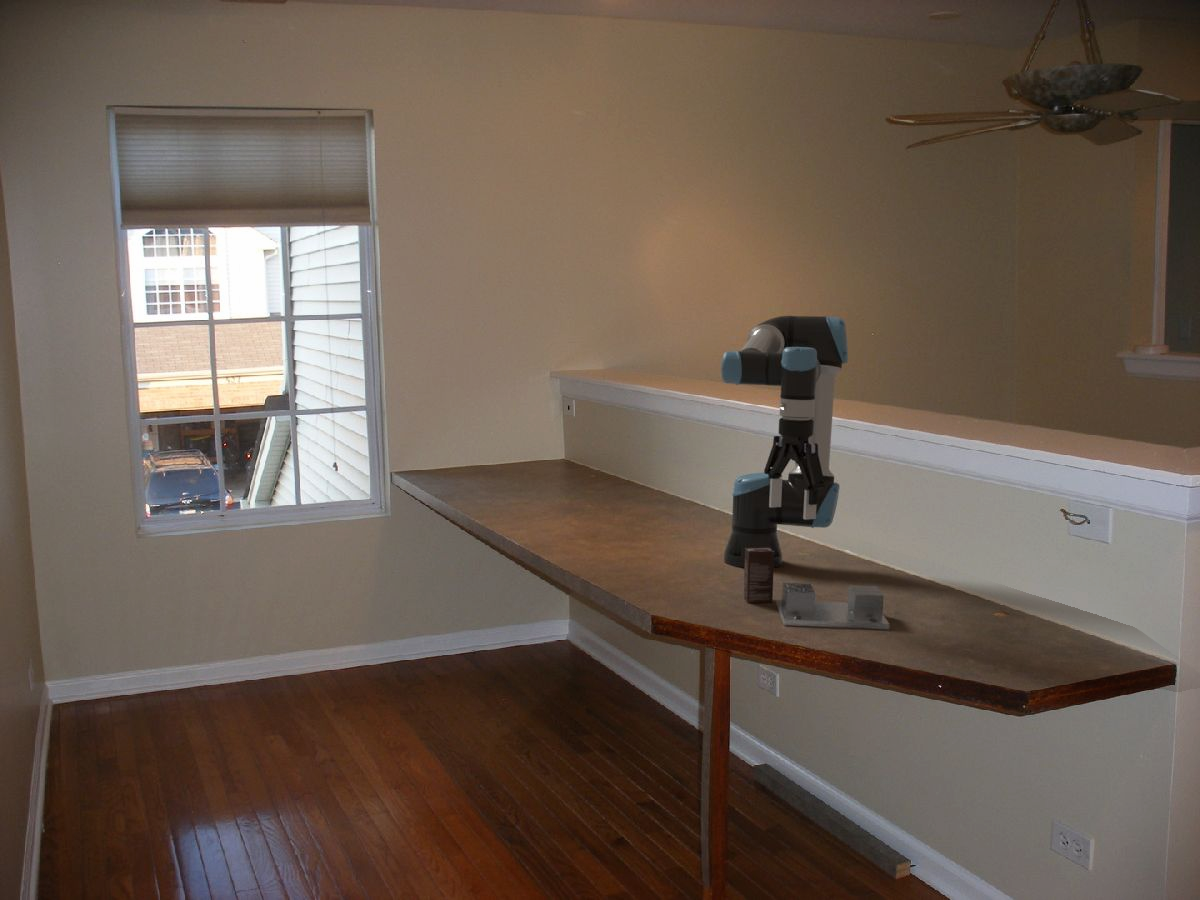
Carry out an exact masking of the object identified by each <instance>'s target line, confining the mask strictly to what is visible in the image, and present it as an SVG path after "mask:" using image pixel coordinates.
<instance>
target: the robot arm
mask: <svg viewBox="0 0 1200 900" xmlns="http://www.w3.org/2000/svg"><path fill="white" fill-rule="evenodd" d="M848 349H849V348H848V336H847V327H846V323H845V321H844V320H843V319H842V318H840V317H834V316H832V317H830V316H827V315H826V316H816V315H815V316H813V315H812V316H810V315H809V316H808V315H807V316H806V315H805V316H803V315H781V316H777V317H773V318H769V319H768V320H765V321H761V322H760V323H759V324H757V325H756V326H755V327H753V328H752V330H751V331H750V332H749V334H748V336H747V339H746V343H745V344H744V345H743V347H742V348H741V349H740V350H739V351H738V350H728V351H725V352H724V353H723V355H722V359H721V369H720V370H721V371H720V373H721V379H722V382H724V383H726V384H734V385H736V386H737V385H749V386H750V385H752V386H753V385H754V386H757V385H758V386H773V387H774V386H775V387H780V401H779V403H780V404H779V415H780V416H781V417H780V419H778V435H774V436H773V439H772V440H773V441H772V446H771V449H770V452H769V456H768V458H767V462H766V464H765V467H764V470H763V472H756V473H747V474H743V475H739V476H738V477H737V478H736V479H735V480H734V483H733V492H732V519H731V521H732V522H731V533H730V536H729V539H728V541H727V544H726V546H725V549H724V552H723V561H724V563H726V564H728V565H731V566H734V567H739V568H740V567H741V568H745V548H771V549H772V550H773V551H774V568H776V567H780V566H781V565H783V552H782V549H781V545H780V542H779V539H778V525H782V526H792V527H793V526H794V527H804V528H811V529H814V528H829V527H830V526H831V525H832V523H833V522H834V521H833V520H834V517H835V513H836V509H837V505H838V500H839V499H838V498H839V494H840V484H839V483H838V482H835V474H833V472H832V471H831V470H830V458H831V442H832V427H833V413H834V410H833V409H834V398H835V397H834V396H835V395H834V394H835V385H836V384H835V383H836V381H835V380H836V376H837V375H838V374H839V373H841V372H842V367H843V365H845V364H847V363H849V354H848V353H849V350H848ZM790 460H791V461H793V462H794V466H793V468H792V469H791V470H790V471H789V472H788V476H787V478H788V479H783V475H782V474H783V472H784V471H785V469H786V468H787V466H788V464H789V463H790Z"/></svg>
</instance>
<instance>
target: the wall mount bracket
mask: <svg viewBox="0 0 1200 900" xmlns="http://www.w3.org/2000/svg"><path fill="white" fill-rule="evenodd" d="M781 597H782V598H781V599H776V607H777V610H778V612H779V615H780V618H781V620H782V623H783V625H784V626H789V627H792V626H793V627H795V626H796V627H819V628H820V627H821V628H823V627H824V628H843V629H865V630H867V629H870V630H890V623H889V621H888V620H887V619H886V617H885V615H884V614H883V611H884V609H883V608H884V594H883V593H882V591H881V590H880V588H879V587H878V586H877V585H857V584H856V585H854V584H853V585H852V584H849V585H848V598H847V599H848V600H847V602H846V601H844V602H843V601H820V600H819V601H818V600H817V601H816V592H815V590H814V588H813V586H812V584H811V583H805V582H804V583H803V582H802V583H801V582H800V583H799V582H798V583H797V582H783V583H782V595H781Z"/></svg>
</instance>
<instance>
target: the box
mask: <svg viewBox="0 0 1200 900" xmlns="http://www.w3.org/2000/svg"><path fill="white" fill-rule="evenodd" d="M774 568H775V567H774V551H773V550H772V549H771V548H745V567H744V575H743V576H744V577H743V578H744V579H743V599H744V600H745V602H746V603H748V604H751V603H753V604H754V603H755V604H756V603H773V596H774V594H773V592H774V591H773V590H774Z"/></svg>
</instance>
